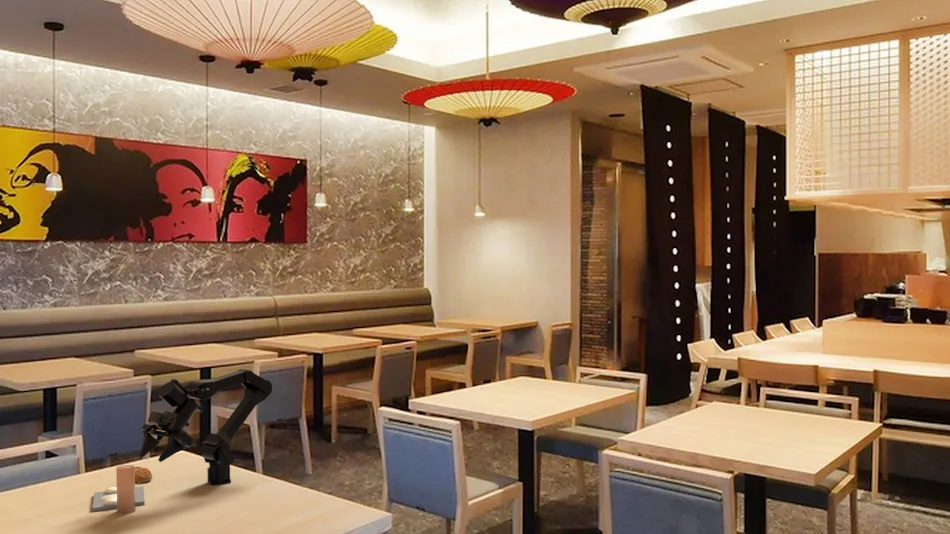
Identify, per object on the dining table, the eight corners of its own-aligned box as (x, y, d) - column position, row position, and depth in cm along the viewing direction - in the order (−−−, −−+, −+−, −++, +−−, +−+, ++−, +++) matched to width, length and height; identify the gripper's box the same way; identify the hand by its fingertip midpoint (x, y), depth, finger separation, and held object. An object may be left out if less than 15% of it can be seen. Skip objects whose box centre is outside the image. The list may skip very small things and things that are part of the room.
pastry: (157, 481, 253) (157, 469, 253) (137, 485, 248) (136, 474, 248) (145, 475, 259) (145, 464, 259) (125, 480, 254) (124, 468, 254)
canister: (135, 507, 226) (134, 464, 226) (135, 512, 222) (134, 468, 221) (117, 510, 224) (116, 466, 224) (117, 515, 220) (116, 470, 219)
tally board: (143, 489, 243) (143, 483, 243) (144, 504, 228) (144, 498, 228) (94, 495, 237) (94, 489, 237) (92, 511, 223) (92, 504, 223)
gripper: (146, 397, 238) (113, 440, 229) (184, 403, 228) (151, 448, 219) (168, 417, 245) (137, 460, 236) (206, 424, 235) (175, 469, 226)
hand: (149, 458), depth 229 cm, fingers open, 9 cm apart
